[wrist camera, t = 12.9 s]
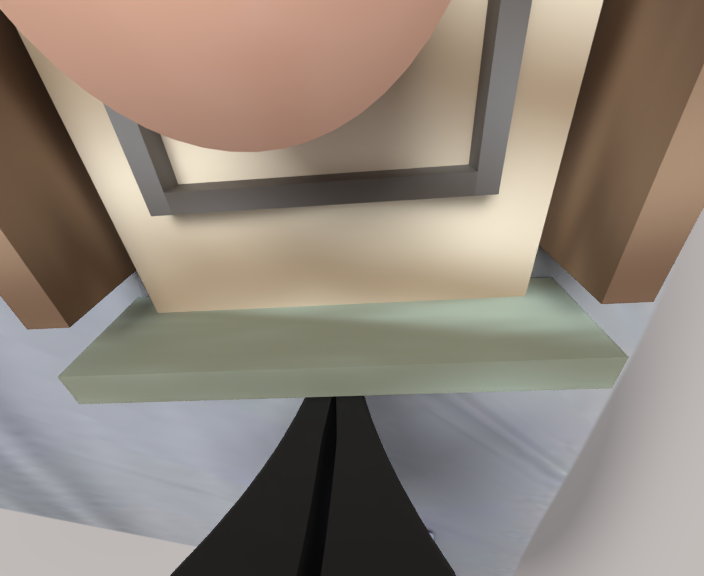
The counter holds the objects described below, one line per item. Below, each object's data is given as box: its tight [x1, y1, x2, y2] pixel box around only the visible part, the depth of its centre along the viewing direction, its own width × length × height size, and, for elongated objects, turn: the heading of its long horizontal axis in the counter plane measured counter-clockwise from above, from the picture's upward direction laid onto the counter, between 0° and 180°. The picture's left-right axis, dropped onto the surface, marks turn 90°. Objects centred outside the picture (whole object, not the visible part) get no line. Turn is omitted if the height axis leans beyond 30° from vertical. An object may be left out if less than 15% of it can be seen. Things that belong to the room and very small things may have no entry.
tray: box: [15, 0, 628, 404], centre depth 7 cm, size 15×16×4 cm
